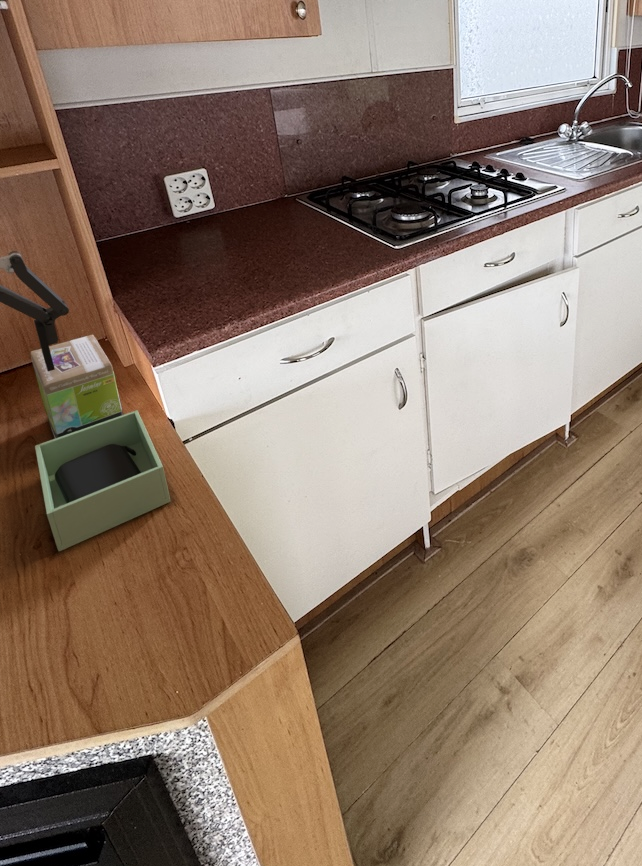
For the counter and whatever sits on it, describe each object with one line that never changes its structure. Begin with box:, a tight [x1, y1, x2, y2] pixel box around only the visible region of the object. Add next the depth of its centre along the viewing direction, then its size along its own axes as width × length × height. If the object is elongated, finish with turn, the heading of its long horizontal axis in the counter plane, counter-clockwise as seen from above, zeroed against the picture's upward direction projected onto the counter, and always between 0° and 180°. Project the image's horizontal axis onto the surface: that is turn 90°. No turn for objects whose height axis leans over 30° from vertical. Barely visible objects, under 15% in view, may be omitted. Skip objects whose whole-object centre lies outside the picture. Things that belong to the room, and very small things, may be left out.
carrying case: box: [55, 444, 141, 503], centre depth 91 cm, size 11×3×15 cm
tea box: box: [29, 334, 124, 439], centre depth 103 cm, size 15×10×15 cm, turn 44°
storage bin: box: [34, 409, 171, 553], centre depth 90 cm, size 14×18×7 cm
